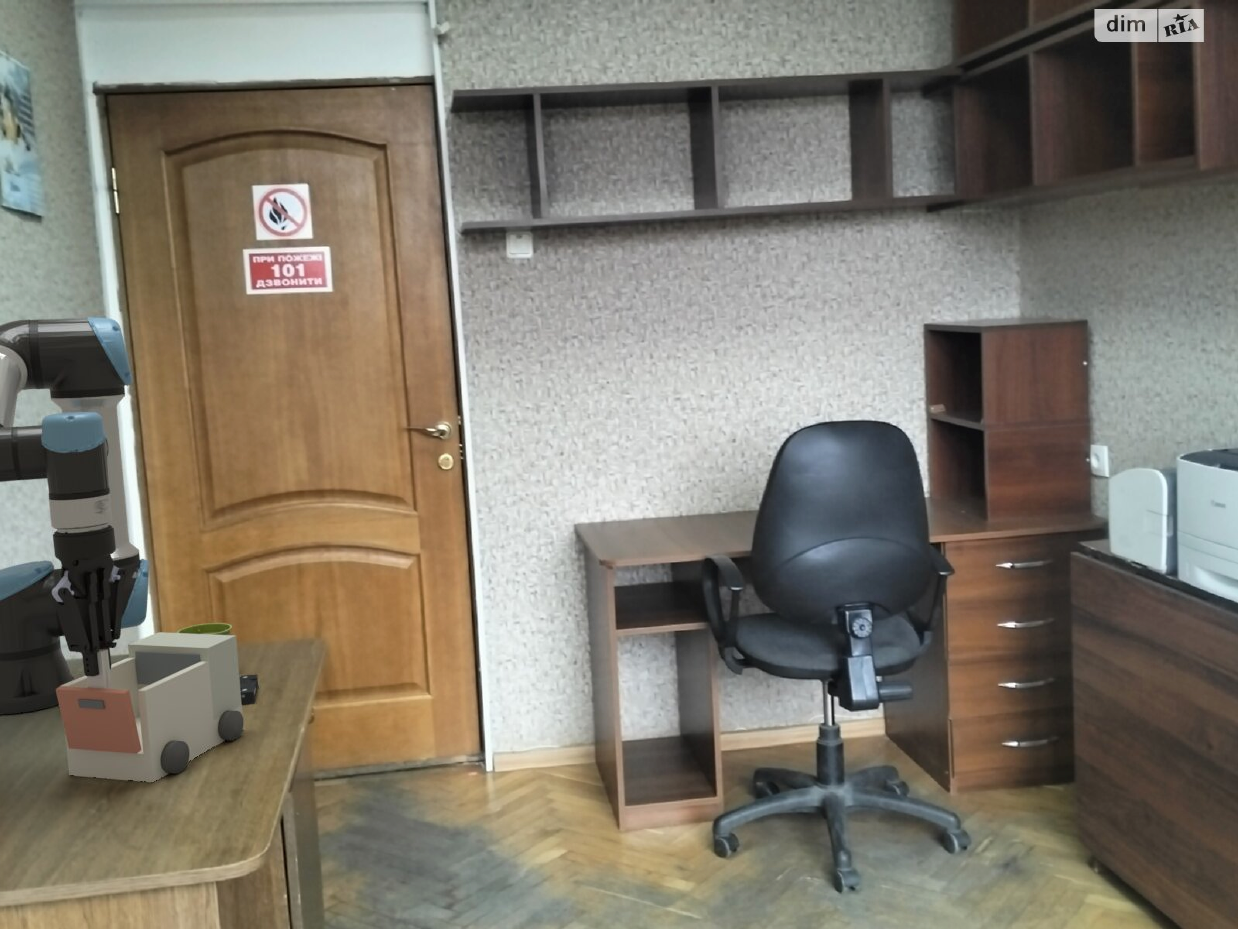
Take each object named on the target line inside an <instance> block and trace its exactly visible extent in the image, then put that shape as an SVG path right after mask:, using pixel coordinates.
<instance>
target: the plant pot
mask: <svg viewBox="0 0 1238 929" xmlns="http://www.w3.org/2000/svg"><path fill="white" fill-rule="evenodd" d="M232 629H233V625H232V624H229V623H226V622H213V623H211V622H210V623H200V624H199V623H198V624H194V625H190V626H187V627H183V628H180V629H178V630H177V631H176V633H188V634H211V635H231V634H230V633H231V630H232Z"/></svg>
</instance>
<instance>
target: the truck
mask: <svg viewBox="0 0 1238 929" xmlns="http://www.w3.org/2000/svg"><path fill="white" fill-rule="evenodd" d="M237 644H238V643H237V635H235V634H233V635H231V634H230V635H211V634H188V633H177V632H161V631H160V632H159V631H158V632H156V633H153V634H151V635H148V636H146V637H143V638H141V639H137V640H136V641H133V642H130V643H129V644H127V648H128V649H127V650H128V657H126V658H124V659H122V660H120V661H117V662H115V663H111V669H110V676H111V686H112V689H118V690H129V692H130V697H131V702H132V707H133V711H134V716H135V721H136V726H137V731H138V735H139V740H140V745H141V751H140V752H138V753H137V754H134V753H121V752H108V751H95V750H82V749H70V748H69V746H68V742H67V738H66V733H65V732H64V737H65V738H64V739H65V747H66V758H67V766H68V769H67V770H68V776H70V775H74V776H73V777H84V778H93V777H96V779H105V778H106V779H108V780H119V781H128V780H133V781H132V782H140V781H143V783H151V782H154V781H155V782H157V781H159V780H160V779H162V778H164V777H166V776H168V775H169V774H180V773H182V772H183V771H184V770H185V769H186V768H187V765H188V763H190V762H191V761H193V760H195V759H196V758H195V757H197V756H198V757H200V756H201V755H200V754H202V753H203V754H205V753H206V751H207V750H208V749H210V750H212V749H213V748H212V747H213V746H215V747H217V746H218V745H217V744H219V743H221V744H222V743H224V742H225V740H226V741H236V740H237V739H239V738H240V736H241V735H242V733H243V731H244V730H243V729H244V716H243V705H242V704H241V691H240V679H239V676H240V669H239V657H238V654H239V653H238V645H237ZM61 686H67V687H84V688H88V682H87V676H85V675H83V676H81V677H78V678H75V680H73V681H71V682H68V683H66V684H63V685H61ZM242 730H243V731H242ZM235 739H236V740H235ZM223 741H224V742H223ZM216 745H217V746H216ZM219 745H220V744H219ZM211 748H212V749H211ZM204 752H205V753H204ZM207 752H208V751H207ZM203 754H202V755H203ZM199 755H200V756H199ZM198 757H197V758H198ZM194 758H195V759H194ZM190 760H191V761H190ZM189 761H190V762H189ZM168 773H169V774H168ZM161 777H162V778H161ZM156 780H157V781H156ZM144 781H146V782H144ZM155 782H154V783H155Z"/></svg>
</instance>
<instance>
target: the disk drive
mask: <svg viewBox="0 0 1238 929" xmlns="http://www.w3.org/2000/svg"><path fill="white" fill-rule="evenodd" d="M239 679H240V691H241V704H242V706H243V705H244V706H245V705H254V704H255V702H256V698H257V692H258V689H259V680H258V674H246V675H239ZM257 688H258V689H257Z"/></svg>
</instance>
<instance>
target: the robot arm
mask: <svg viewBox="0 0 1238 929" xmlns="http://www.w3.org/2000/svg"><path fill="white" fill-rule="evenodd" d="M133 382H134V379H133V375H132V372H131V365H130V362H129V357H128V354H127V349H126V346H125V341H124V337H123V332H122V327H121V325H120V324H119V322H117V321H116V320H115V319H113V318H109V317H107V318H106V317H91V316H88V317H73V318H47V319H45V318H44V319H43V318H42V319H19V320H13V321H9V322H6V323H3V324H0V483H4V482H5V483H6V482H15V481H30V480H33V481H34V480H45V479H46V481H47V488H48V504H49V514H50V515H49V516H50V525H51V527H52V528H53V529H55V530H56V531H54V532H53V534H52V541H53V548H54V549H53V550H54V557H55V558H56V559H57V560H59V562H60V564H61V565H60V568H55V565H54V564H53V562H52V561H51V560H40V561H39V560H37V561H29V562H26V563H25V562H24V563H21V564H17V565H16V564H14V565H11V566H9V567H5V568H0V715H12V714H22V713H21V712H23V713H28V712H33V711H34V712H35V711H38V710H43V709H47V708H51V707H54V706H57V705H59V702H58V698H57V694H56V689H57V688H59V687H60V686H61V685H63V684H66V683H68V682H71V681H73V680H76V678H75V676H74V675H72V674H71V670H70V667H69V665H68V663H67V660H66V658H65V655H64V653H63V652H62V646H61V645H62V644H61V637H64V639H65V642H66V646H67V649H68V650H69V652H73V653H80V654H81V655H82V665H83V672H84V676H87V682H88V688H101V689H112V686H111V676H110V669H111V665H112V659H111V658H112V656H111V649H114V648H116V647H117V645H118V644H117V642H116V641H115V640H119V639H120V638H121V633H122V632H121V631H122V630H123V629H129V628H134V627H138V626H141V625H142V624H143V623H144V622H145V620H146V618H147V613H148V612H147V611H148V598H149V597H148V596H149V577H150V576H149V574H150V572H149V571H150V561H149V560H148V559H145V558H141V556H140V550H139V548H137V547H136V546H134V545H133V544H132V543H131V542H130V539H129V538H130V537H129V530H128V516H127V507H126V496H125V485H124V482H125V481H124V475H123V474H124V473H123V461H122V452H121V442H120V428H119V420H118V419H119V417H118V405H119V403H120V402H121V401H122V400H123V399H124V398H125V397H126V390H125V386H126V387H129V386H130V385H132V384H133ZM25 390H49V394H50V401H52V402H53V403H54V404H55V405H56V406H58V407H59V408H60V410H61V413H53V414H48V415H45V416H44V417H43V418H42V420H41V424H40V425H25V426H24V425H23V426H14V422H15V415H16V414H15V413H16V408H17V401H18V395H19V394H20V393H21V392H22V391H25Z"/></svg>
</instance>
